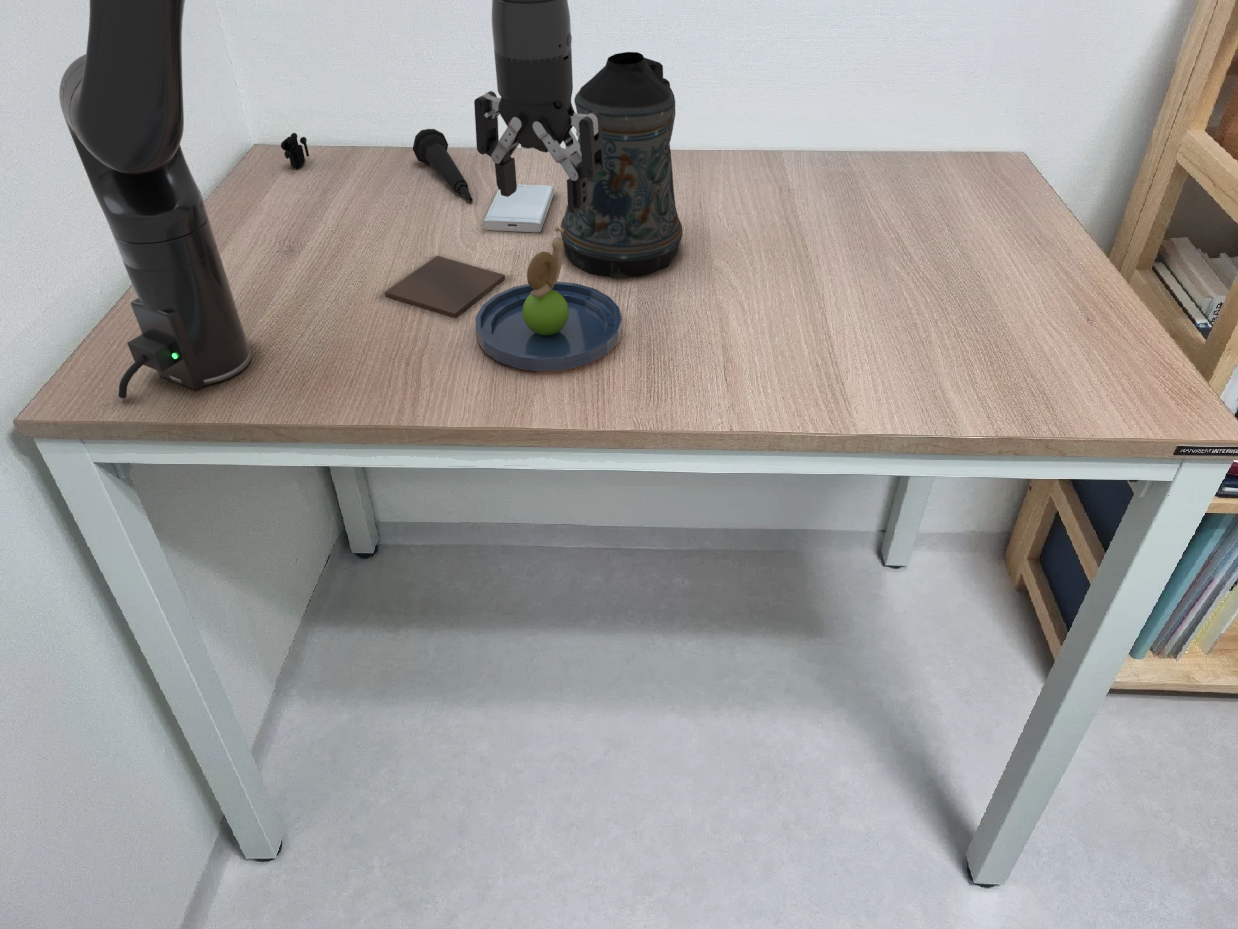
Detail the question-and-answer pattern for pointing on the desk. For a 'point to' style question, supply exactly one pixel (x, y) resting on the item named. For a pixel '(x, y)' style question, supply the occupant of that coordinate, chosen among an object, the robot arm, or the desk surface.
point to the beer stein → (627, 174)
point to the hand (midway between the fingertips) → (542, 201)
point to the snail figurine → (546, 292)
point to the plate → (574, 345)
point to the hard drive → (520, 209)
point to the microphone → (440, 159)
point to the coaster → (445, 286)
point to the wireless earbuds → (295, 150)
